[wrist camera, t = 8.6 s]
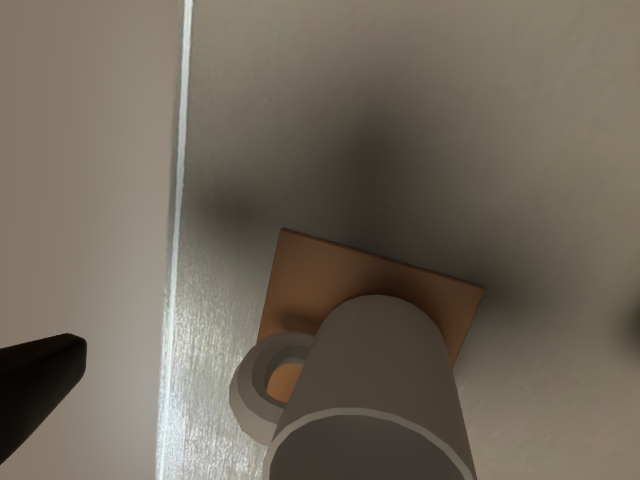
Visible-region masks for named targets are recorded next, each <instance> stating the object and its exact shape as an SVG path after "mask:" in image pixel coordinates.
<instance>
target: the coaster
mask: <svg viewBox="0 0 640 480" xmlns="http://www.w3.org/2000/svg"><path fill="white" fill-rule="evenodd" d="M484 291H485V289H484V287H482V286H479V285H476V284H472V283H469V282H465V281H462V280H459V279H455V278H452V277H448V276H445V275H441V274H438V273H435V272H431V271H428V270H424V269H421V268H417V267H414V266H411V265H407V264H404V263H400V262H397V261H394V260H390V259H387V258H383V257H380V256H376V255H373V254H370V253H366V252H363V251H359V250H356V249H353V248H349V247H346V246H342V245H339V244H335V243H332V242H329V241H325V240H322V239H318V238H315V237H311V236H308V235H305V234H301V233H298V232H294V231H291V230H288V229H284V228H282V229H280V233H279V238H278V242H277V247H276V252H275V257H274V262H273V266H272V271H271V276H270V281H269V286H268V290H267V295H266V300H265V305H264V310H263V314H262V319H261V324H260V329H259V334H258V338H257V343H258V342H260V341H261V340H262V339H264V338H266V337H268V336H270V335H273V334H275V333H281V332H288V331H292V332H301V333H306V334H310V335H314V336H315V335H316V334H317V332H318V330H319V328H320V326H321V324H322V322H323V321H324V320H325V319H326V317H327V316H328V315H329V314H330V312H331V311H332V310H333V309H335V308H336V307H338V306H339V305H341V304H342V303H344V302H345V301H348V300H351V299H354V298H357V297H360V296H367V295H385V296H391V297H397V298H399V299H402V300H404V301H406V302H409V303H411V304H414V305H415V306H416V307H418V308H419V309H420V310H422V311H423V312H424V313H426V314H427V315H428V316H429V317H430V318H431V319H432V321H433V322H434V323H435V324H436V326H437V327H438V328H439V330H440V332H441V335H442V337H443V339H444V342H445V344H446V347H447V349H448V353H449V357H450V362H451V366H452V367H453V365H454V362H455V360H456V358H457V355H458V353H459V350H460V348H461V346H462V343H463V341H464V339H465V336H466V334H467V331H468V329H469V327H470V324H471V322H472V320H473V317H474V315H475V312H476V310H477V308H478V305H479V303H480V300H481V298H482V296H483V293H484ZM257 343H256V344H257ZM302 368H303V366H301V365H298V364H285V365H282V366H281V367H279V368H278V369H276V370H275V371H274V372H273V374H272V376H271V378H270V380H269V384H268V387H267V394H269V395H270V396H271V397H273V398H274V399H277V400H279V401H282V402H284V403H287V402H288V400H289V398H290V396H291V394H292V392H293V389H294V387H295V384H296V382H297V380H298V377H299V375H300V372H301V370H302Z"/></svg>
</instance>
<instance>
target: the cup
mask: <svg viewBox="0 0 640 480" xmlns="http://www.w3.org/2000/svg"><path fill="white" fill-rule="evenodd" d="M285 364H298V365H301V366H303V368H302V370H301V372H300V375H299V377H298V380H297V382H296V384H295V387H294V389H293V392H292V394H291V396H290V398H289V400H288V402H287V403H284V402H282V401H279V400H277V399H274V398H273V397H271V396H270V395H269V394H267V387H268V384H269V380H270V378H271V376H272V374H273V372H274V371H275V370H276V369H278V368H279V367H281V366H282V365H285ZM229 396H230V406H231V409H232V411H233V414H234V416H235V418H236V420H237V421H238V423H239V425H240V427H241V429H242V431H243V432H245V433H246V434H247V435H249V436H250V437H251V438H253V439H254V440H255V441H256V442H258V443H261V444H263V445H265V446H268V447H269V449H268V451H267V454H266V456H265V458H264V461H263V470H262V480H477V476H476V472H475V467H474V463H473V458H472V454H471V450H470V445H469V441H468V436H467V432H466V428H465V423H464V419H463V414H462V410H461V406H460V401H459V397H458V392H457V388H456V384H455V379H454V375H453V370H452V366H451V362H450V357H449V353H448V349H447V347H446V344H445V342H444V339H443V337H442V335H441V332H440V330H439V328H438V327H437V326H436V324H435V323H434V322H433V321H432V319H431V318H430V317H429V316H428V315H427V314H426V313H424V312H423V311H422V310H420V309H419V308H418V307H416V306H415V305H414V304H411V303H409V302H406V301H404V300H402V299H399V298H397V297H391V296H385V295H367V296H360V297H357V298H354V299H351V300H348V301H345V302H344V303H342V304H341V305H339V306H338V307H336V308H335V309H333V310H332V311H331V312H330V314H329V315H328V316H327V317H326V319H325V320H324V321H323V322H322V324H321V326H320V328H319V330H318V332H317V334H316V335H315V336H314V335H310V334H306V333H301V332H292V331H288V332H281V333H275V334H273V335H270V336H268V337H266V338H264V339H262V340H261V341H260V342H258V343H257V344H256V345H255V346H254V347H253V348H251V349H250V351H249V352H248V353H247V355H246V356H245V357H244V359H243V360H242V362H241V363H240V364H239V366H238V367H237V369H236V370H235V372H234V375H233V378H232V381H231V383H230V386H229Z"/></svg>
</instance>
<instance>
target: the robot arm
mask: <svg viewBox="0 0 640 480" xmlns="http://www.w3.org/2000/svg"><path fill="white" fill-rule="evenodd" d="M86 355H87V343H86V340H85V339H84V338H81V337H78V336H75V335H73V334H69V333H65V334H61V335H56V336H52V337H48V338H44V339H40V340H35V341H31V342H27V343H22V344H19V345H14V346H10V347H5V348H1V349H0V465H1V464H2V463H3V462H4V461H5V460H6V459H7V458H8V457H9V456H10V455H11V454H12V453H13V452H15V451H16V449H18V448H19V446H21V445H22V443H24V442H25V440H26V439H27V438H28V437H29V436H30V435H31V434H32V433H33V432H34V431H35V430H36V429H37V428H38V426H39V425H40V424H41V423H42V422H43V421H44V420H45V419H46V417H48V415H49V414H50V413H51V412H52V411H53V410H54V409H55V408H56V407H57V405H58V404H59V403H60V402H61V401H62V400H63V399H64V398H65V397H66V395H67V394H68V393H69V392H70V391H71V390H72V389H73V388H74V387H75V386H76V384H77V383H78V382H79V381H80V380H81V378H82V376H83V375H84V372H85V369H86Z"/></svg>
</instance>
